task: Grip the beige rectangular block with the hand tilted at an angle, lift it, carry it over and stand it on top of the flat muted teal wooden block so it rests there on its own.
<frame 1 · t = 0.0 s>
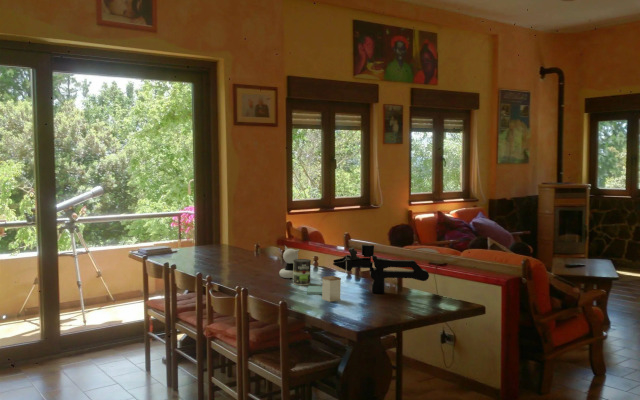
hand: (333, 262, 323), 17 cm above the table, tool horizontal, fingers open, 9 cm apart
coffee can: (301, 284, 344), on the table
base block: (320, 292, 324), on the table
decorative figurine: (291, 277, 365), on the table
beige rectangular block: (331, 299, 305), on the table
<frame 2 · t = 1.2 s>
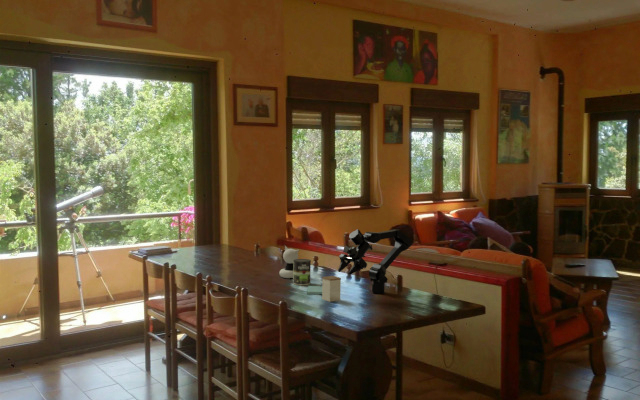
hand: (343, 272, 309), 13 cm above the table, tool tilted 45°, fingers open, 9 cm apart
nothing on the table moved.
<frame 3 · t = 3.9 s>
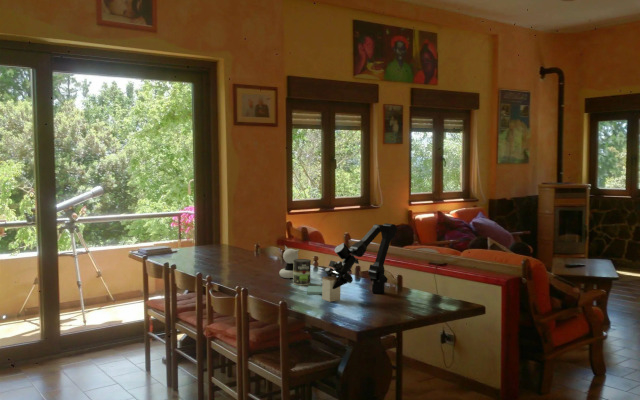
hand: (329, 287, 304), 7 cm above the table, tool tilted 45°, fingers closed on beige rectangular block, 7 cm apart
beige rectangular block: (331, 299, 305), on the table, touching gripper
everything else where it was.
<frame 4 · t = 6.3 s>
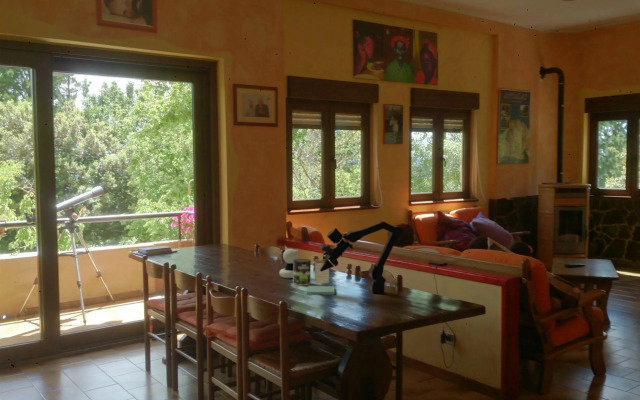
hand: (319, 269, 317), 13 cm above the table, tool tilted 45°, fingers closed on beige rectangular block, 7 cm apart
beige rectangular block: (321, 281, 317), point 7 cm above the table, touching gripper
everything else where it was.
when the fingers open (9 cm above the table, at t = 9.2 s): beige rectangular block stays where it is, point 1 cm above the table.
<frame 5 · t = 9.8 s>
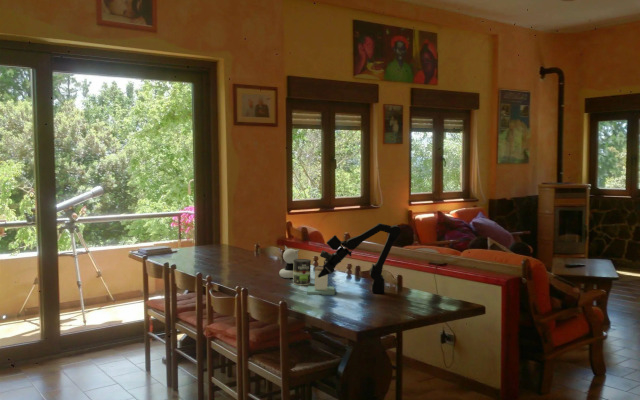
hand: (318, 275, 324), 9 cm above the table, tool tilted 45°, fingers open, 9 cm apart
beige rectangular block: (321, 289, 324), point 1 cm above the table
everything else where it was.
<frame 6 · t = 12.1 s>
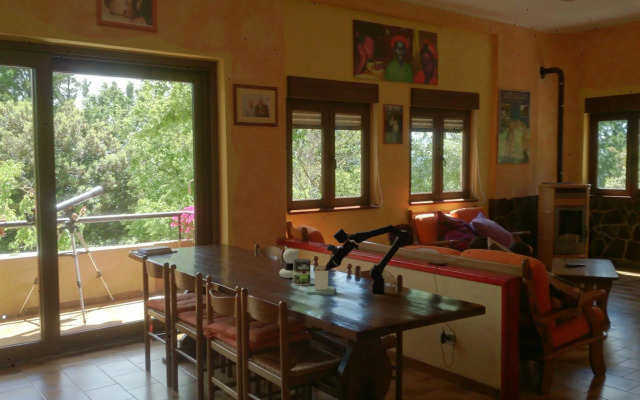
hand: (325, 268, 323), 13 cm above the table, tool tilted 45°, fingers open, 9 cm apart
nothing on the table moved.
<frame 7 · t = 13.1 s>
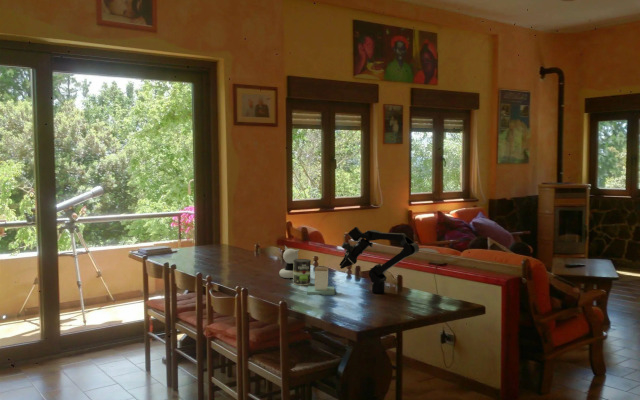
hand: (340, 266, 327), 13 cm above the table, tool tilted 45°, fingers open, 9 cm apart
base block: (320, 292, 324), on the table, touching beige rectangular block
beige rectangular block: (321, 289, 324), point 1 cm above the table, touching base block
everything else where it was.
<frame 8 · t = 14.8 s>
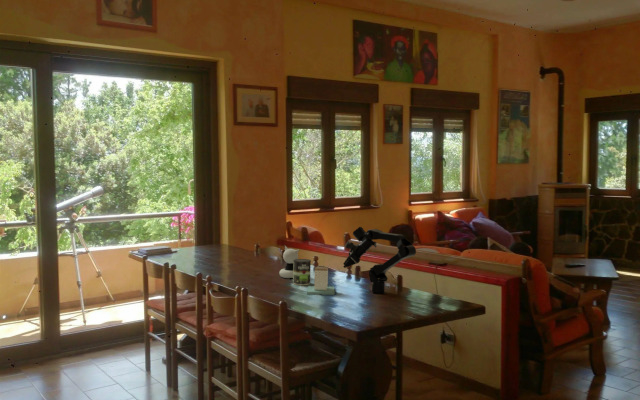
hand: (343, 265, 329), 14 cm above the table, tool tilted 45°, fingers open, 9 cm apart
base block: (320, 292, 324), on the table
beige rectangular block: (321, 289, 324), point 1 cm above the table
everything else where it was.
at the end: beige rectangular block inside the target area on the base block (0.0 cm from its centre), point 2.1 cm above the base block's base; beige rectangular block tilted 1°; beige rectangular block touching nothing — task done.
